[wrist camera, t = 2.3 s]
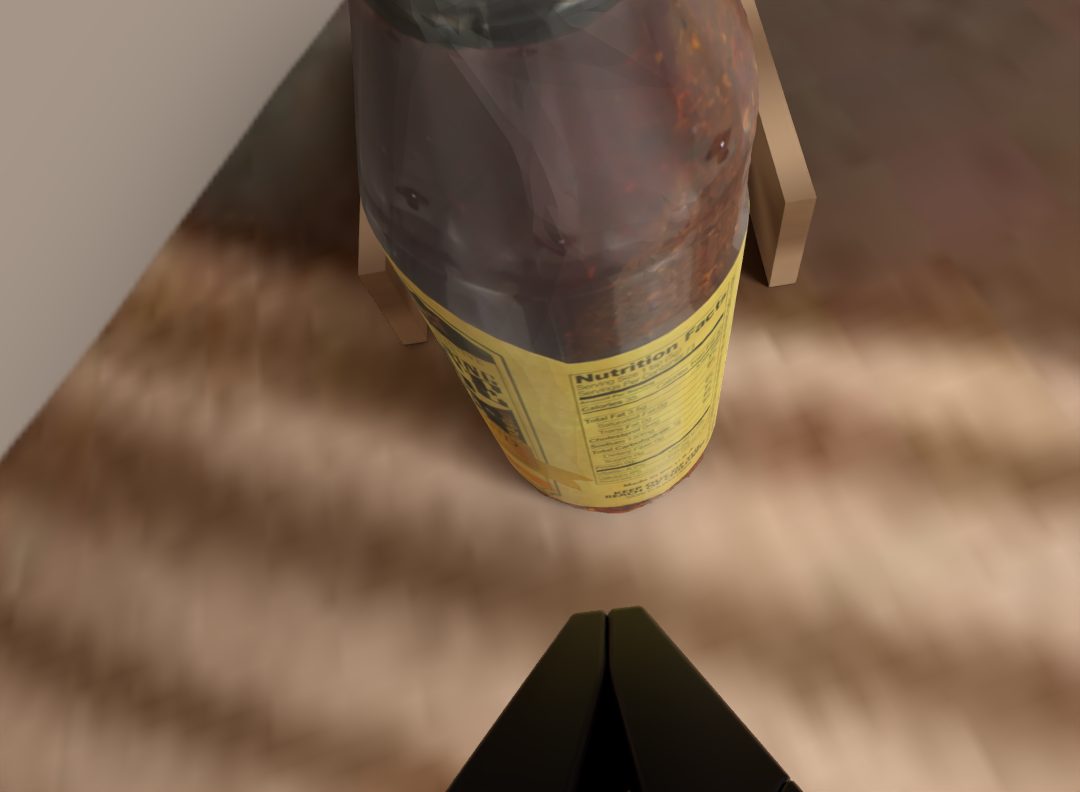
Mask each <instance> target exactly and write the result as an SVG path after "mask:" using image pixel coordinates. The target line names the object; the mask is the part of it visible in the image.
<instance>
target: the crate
mask: <svg viewBox="0 0 1080 792" xmlns="http://www.w3.org/2000/svg"><path fill="white" fill-rule="evenodd" d="M741 3H742V5H743V7H744V9H745V11H746V14H747V16H748V22H749V26H750V28H751V30H752V33H753V38H752V41H753V44H754V51H755V61H756V65H757V69H758V73H759V82H758V85H759V109H758V115H757V123H756V132H755V137H754V141H753V145H752V150H751V155H750V156H751V163H750V166H749V173H748V180H747V184H748V192H749V212H750V216H751V220H752V224H753V228H754V231H755V235H756V239H757V243H758V247H759V250H760V254H761V258H762V262H763V266H764V269H765V273H766V277H767V281H768V285H769V287H773V286H779V285H786V284H792V283H796V279H797V274H798V270H799V266H800V262H801V258H802V254H803V250H804V246H805V242H806V238H807V234H808V230H809V226H810V222H811V218H812V214H813V210H814V206H815V202H816V198H817V197H816V194H815V191H814V188H813V185H812V182H811V178H810V175H809V172H808V169H807V166H806V163H805V160H804V156H803V153H802V150H801V147H800V144H799V141H798V137H797V134H796V131H795V128H794V125H793V122H792V119H791V115H790V112H789V109H788V106H787V103H786V100H785V96H784V93H783V90H782V87H781V84H780V81H779V77H778V74H777V71H776V68H775V65H774V62H773V59H772V55H771V52H770V49H769V46H768V43H767V40H766V36H765V33H764V30H763V27H762V24H761V21H760V18H759V14H758V11H757V8H756V5H755V2H754V0H741ZM358 276H359V278H360V279H361V281H362V282H363V284H364V285H365V287H366V288H367V290H368V292H369V293H370V295H371V296H372V298H373V299H374V301H375V302H376V304H377V305H378V307H379V308H380V310H381V311H382V313H383V314H384V316H385V317H386V319H387V320H388V322H389V323H390V325H391V326H392V328H393V329H394V331H395V332H396V334H397V335H398V337H399V339H400V340H401V342H402V343H403V345H407V344H413V343H420V342H426V341H427V322H426V320H425V319H424V317H423V315H422V314H421V312H420V310H419V309H418V307H417V305H416V304H415V302H414V300H413V299H412V297H411V295H410V294H409V292H408V290H407V289H406V287H405V286H404V285H403V283H402V282H401V281H400V279H399V277H398V275H397V273H396V271H395V269H394V267H393V266H392V264H391V262H390V261H389V259H388V257H387V256H386V254H385V252H384V250H383V249H382V247H381V245H380V244H379V242H378V240H377V238H376V237H375V235H374V233H373V231H372V229H371V227H370V225H369V223H368V220H367V218H366V215H365V212H364V210H363V207H362V202H361V197H360V225H359V258H358Z"/></svg>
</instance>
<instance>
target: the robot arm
mask: <svg viewBox="0 0 1080 792" xmlns="http://www.w3.org/2000/svg"><path fill="white" fill-rule="evenodd" d="M445 792H803V791H802V790H801V789H800V787H799V786H798V785H797V784H796V783H795V782H794V781H791V780H790V777H789V775H788V774H787V773H786V772H785V771H784V769H783V768H782V767H781V766H780V765H779V764H778V763H777V761H776V760H775V759H774V758H773V757H772V756H771V754H770V753H769V752H768V751H767V750H766V749H765V747H764V746H763V745H762V744H761V743H760V742H759V740H758V739H757V738H756V737H755V736H754V735H753V734H752V732H751V731H750V730H749V729H748V728H747V727H746V725H745V724H744V723H743V722H742V721H741V720H740V718H739V717H738V716H737V715H736V714H735V713H734V711H733V710H732V709H731V708H730V707H729V706H728V705H727V703H726V702H725V701H724V700H723V699H722V698H721V696H720V695H719V694H718V693H717V692H716V691H715V689H714V688H713V687H712V686H711V685H710V684H709V682H708V681H707V680H706V679H705V678H704V677H703V676H702V674H701V673H700V672H699V671H698V670H697V669H696V667H695V666H694V665H693V664H692V663H691V662H690V660H689V659H688V658H687V657H686V656H685V655H684V653H683V652H682V651H681V650H680V649H679V648H678V647H677V645H676V644H675V643H674V642H673V641H672V640H671V638H670V637H669V636H668V635H667V634H666V633H665V631H664V630H663V629H662V628H661V627H660V626H659V624H658V623H657V622H656V621H655V620H654V619H653V618H652V616H651V615H650V614H649V613H648V612H647V611H646V610H645V609H644V608H643V607H641V606H633V607H624V608H616V609H612V610H611V611H610V612H609V614H607V613H606V612H605V611H603V610H599V611H591V612H582V613H575V614H573V615H572V616H571V617H570V618H569V620H568V621H567V622H566V624H565V625H564V627H563V628H562V629H561V631H560V632H559V634H558V635H557V636H556V638H555V639H554V641H553V642H552V643H551V645H550V646H549V648H548V649H547V650H546V652H545V653H544V655H543V656H542V657H541V659H540V660H539V662H538V663H537V664H536V666H535V667H534V669H533V670H532V671H531V673H530V674H529V676H528V677H527V678H526V680H525V681H524V682H523V684H522V685H521V687H520V688H519V689H518V691H517V692H516V694H515V695H514V696H513V698H512V699H511V701H510V702H509V703H508V705H507V706H506V708H505V709H504V710H503V712H502V713H501V715H500V716H499V717H498V719H497V720H496V722H495V723H494V724H493V726H492V727H491V729H490V730H489V731H488V733H487V734H486V736H485V737H484V738H483V740H482V741H481V742H480V744H479V745H478V747H477V748H476V749H475V751H474V752H473V754H472V755H471V756H470V758H469V759H468V761H467V762H466V763H465V765H464V766H463V768H462V769H461V770H460V772H459V773H458V775H457V776H456V777H455V779H454V780H453V782H452V783H451V784H450V786H449V787H448V789H447V790H446V791H445Z"/></svg>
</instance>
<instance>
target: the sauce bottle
mask: <svg viewBox="0 0 1080 792" xmlns="http://www.w3.org/2000/svg"><path fill="white" fill-rule="evenodd" d="M348 3H349V13H350V23H351V38H352V59H353V79H354V102H355V125H356V148H357V169H358V183H359V192H360V197H361V202H362V207H363V210H364V212H365V215H366V218H367V220H368V223H369V225H370V227H371V229H372V231H373V233H374V235H375V237H376V238H377V240H378V242H379V244H380V245H381V247H382V249H383V250H384V252H385V254H386V256H387V257H388V259H389V261H390V262H391V264H392V266H393V267H394V269H395V271H396V273H397V275H398V277H399V279H400V281H401V282H402V283H403V285H404V286H405V287H406V289H407V290H408V292H409V294H410V295H411V297H412V299H413V300H414V302H415V304H416V305H417V307H418V309H419V310H420V312H421V314H422V315H423V317H424V319H425V320H426V322H427V324H428V325H429V327H430V329H431V330H432V332H433V334H434V336H435V337H436V339H437V341H438V343H439V344H440V346H441V348H442V349H443V351H444V353H445V354H446V356H447V358H448V359H449V361H450V363H451V364H452V366H453V368H454V369H455V370H456V373H457V375H458V377H459V379H460V380H461V382H462V384H463V385H464V387H465V388H466V390H467V391H468V393H469V394H470V396H471V398H472V400H473V401H474V403H475V405H476V406H477V408H478V410H479V412H480V413H481V415H482V417H483V418H484V420H485V422H486V423H487V425H488V427H489V428H490V430H491V432H492V433H493V435H494V436H495V438H496V440H497V441H498V443H499V445H500V446H501V448H502V450H503V451H504V453H505V455H506V457H507V459H508V460H509V461H510V463H511V464H512V465H513V466H514V468H515V469H516V470H517V471H518V472H519V473H520V474H521V475H522V476H523V477H524V478H525V479H526V480H527V481H529V482H530V483H531V484H533V485H534V486H535V487H536V489H537V490H538V491H540V492H541V493H542V494H544V495H545V496H550V497H553V498H555V499H557V500H559V501H562V502H564V503H566V504H569V505H571V506H573V507H575V508H580V509H587V510H588V511H597V512H604V513H625V512H629V511H631V510H634V509H636V508H638V507H642V506H644V505H646V504H649V503H652V502H653V501H654V500H655V499H658V498H660V497H662V496H664V495H665V494H666V493H668V492H669V491H670V490H672V489H673V488H674V487H675V486H676V485H677V484H678V483H680V482H681V481H682V480H683V479H684V478H687V477H689V475H690V474H691V473H692V472H693V470H694V469H695V468H696V467H697V466H698V464H699V463H700V462H701V460H702V458H703V455H704V453H703V451H704V449H705V448H706V446H707V444H708V442H709V439H710V437H711V435H712V432H713V429H714V426H715V421H716V415H717V409H718V403H719V398H720V392H721V386H722V380H723V374H724V368H725V362H726V356H727V351H728V345H729V339H730V332H731V326H732V319H733V312H734V307H735V301H736V295H737V289H738V283H739V277H740V271H741V265H742V259H743V253H744V247H745V240H746V234H747V227H748V218H749V192H748V184H747V180H748V173H749V166H750V163H751V156H750V155H751V150H752V145H753V141H754V137H755V132H756V123H757V115H758V109H759V85H758V82H759V73H758V69H757V65H756V61H755V51H754V44H753V41H752V38H753V33H752V30H751V28H750V26H749V22H748V16H747V14H746V11H745V9H744V7H743V5H742V3H741V0H348Z"/></svg>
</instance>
